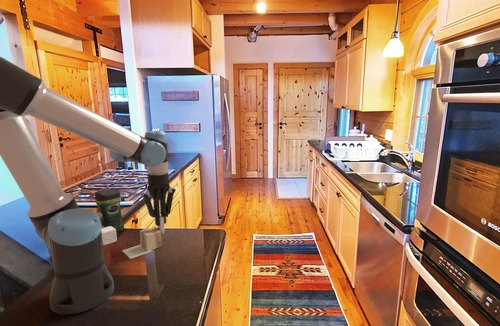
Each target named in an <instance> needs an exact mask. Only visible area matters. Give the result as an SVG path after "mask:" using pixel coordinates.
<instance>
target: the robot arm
mask: <svg viewBox="0 0 500 326" xmlns="http://www.w3.org/2000/svg"><path fill="white" fill-rule="evenodd" d="M26 116H30V117H33V118H35V119H37V120H40V121H42V122H45V123H47V124H48V125H51V126H54V127H57V128H58V129H61V130H64V131H65V132H67V133H70V134H72V135H74V136H77V137H79V138H81V139H83V140H84V139H85V140H86V141H89V142H90V143H93V144H96V145H98V146H100V147H103V148H105V149H107V150H108V151H109V154H110V158H111V160H112V161H114V162H116V163H117V162H118V163H120V162H122V163H124V162H131V163H135V164H142V165H143V166H144V165H145V166H146V173H148V174H147V189H146V191H145V192H143V193H141V194H140V196H141V197H142V198H143V199H144V203H145V205H146V208H147V212H148V214H149V216H150V217H151V218H154V224H155V226H156V227H157V228H158V229H160V230H161V231H162V235H163V234H165V233H166V232H165V230H166V229H165V224H166V223H167V217H168V214H171V211H172V205H173V199H174V195H175V193H176V188H174V187H171V185H170V183H169V182H170V179H169V178H170V176H169V175H170V174H169V173H168V172H169V160H168V159H169V157H168V154H169V153H168V152H169V151H168V139H167V133H166V132H165V131H161V130H160V131H158V130H157V131H154V130H152V131H146V132H145V133H144V136H142V135H140V134H138V133H136V132H134V131H132V130H130V129H128V128H126V127H124V126H123V125H120V124H118V123H117V122H114V121H113V120H111V119H109V118H107V117H105V116H103V115H101V114H99V113H97V112H95V111H93V110H92V109H90V108H87V107H85V106H84V105H83V104H80V103H77V102H76V101H74V100H72V99H70V98H68V97H66V96H64V95H62V94H60V93H58V92H56V91H55V90H53V89H51V88H48V87H47V85H45V81H44V80H43V79H41V78H39V77H37V76H36V75H34V74H32V73H30V72H28V71H27V70H25V69H23V68H21V67H19V66H18V65H16V64H14V63H13V62H11V61H10V60H7V58H4V57H2V56H0V158H1V159H2V162H3V163H4V164H5V166H6V168H7V169H8V171H9V172H10V174H11V176H12V178H13V180H14V182H15V183H16V185H17V187H18V188H19V190H20V191H21V193H22V195H23V197H24V198H25V200H26V202H27V203H28V205H29V210H28V211H27V217H28V218H29V220H30V222H31V223H32V225H33V226H34V228H35V232H36V234H37V236H38V237H39V238H40V239H41V240H42V241H43V242H44V244H45V245H46V246H47V247H48V249H49V250H50V253H51V260H52V267H53V273H54V277H53V281H52V284H51V285H52V286H51V289H50V294H49V298H48V301H49V307H50V310H51V311H52V312H53V313H55V314H59V315H75V314H79V313H83V312H87V311H89V310H91V309H94V308H96V307H98V306H100V305H101V304H103V303H104V302H106V301H107V300H108V298H110V297H111V296H112V295H113V293H114V290H115V285H114V284H115V283H114V279H113V276H112V275H111V273H110V271H109V269H108V267H107V265H106V263H105V254H104V245H103V241H102V231H101V229H102V224H101V221H100V217H99V215H98V212H96V211H95V210H93V209H89V208H82V207H81V208H80V207H79V205H78V203H77V201H76V199H75V197H74V195H73V194H71V193H67V192H65V190H64V188H63V186H62V185H61V183H60V181H59V180H58V177H57V176H56V173H55V172H54V170H53V168H52V165H50V162H49V161H48V158H47V157H46V155H45V153H44V151H43V149H42V146H41V145H40V143H39V141H38V139H37V137H36V136H35V134H34V132H33V130H32V128H31V126H30V125H29V122H28V120H27V119H26ZM151 196H152V200H153V204H152V200H151V198H150V197H151Z"/></svg>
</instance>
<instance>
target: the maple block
mask: <svg viewBox="0 0 500 326" xmlns="http://www.w3.org/2000/svg"><path fill="white" fill-rule="evenodd" d="M139 236H140V237H139V238H140V245H141V246H142V247H143V248H144V249H145V250H147V251H150V250H152V251H154V250H155V249H158V248H161V247H164V244H163V243H164V242H163V240H164V238H163V234H162V231H161V230H160V229H158V227H157V226H153V227H149V228H146V229H142V230H139Z"/></svg>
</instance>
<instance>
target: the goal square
mask: <svg viewBox="0 0 500 326" xmlns="http://www.w3.org/2000/svg"><path fill="white" fill-rule="evenodd" d="M121 251H122V253H124V254H125V255H126V256H127V257H128V258H129V259H130V260H131V259H132V260H133V259H134V258H136V257H139V256H140V257H141V256H144V255H145V254H149V253H151V252H153V250H150V251H147V250H145V249H144V248H143V247H142V246H141V244H138V245H135V246H132V247H129V248H126V249H123V250H121Z"/></svg>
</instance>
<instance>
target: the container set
mask: <svg viewBox="0 0 500 326" xmlns="http://www.w3.org/2000/svg"><path fill="white" fill-rule="evenodd" d="M101 231H102V241H103V246H107V245H109V244H112V243H116V242H117V241H118V238H117V235H118V234H117V232H116V229H115V228H113V227H112V226H109V227H105V228H102V229H101Z"/></svg>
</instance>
